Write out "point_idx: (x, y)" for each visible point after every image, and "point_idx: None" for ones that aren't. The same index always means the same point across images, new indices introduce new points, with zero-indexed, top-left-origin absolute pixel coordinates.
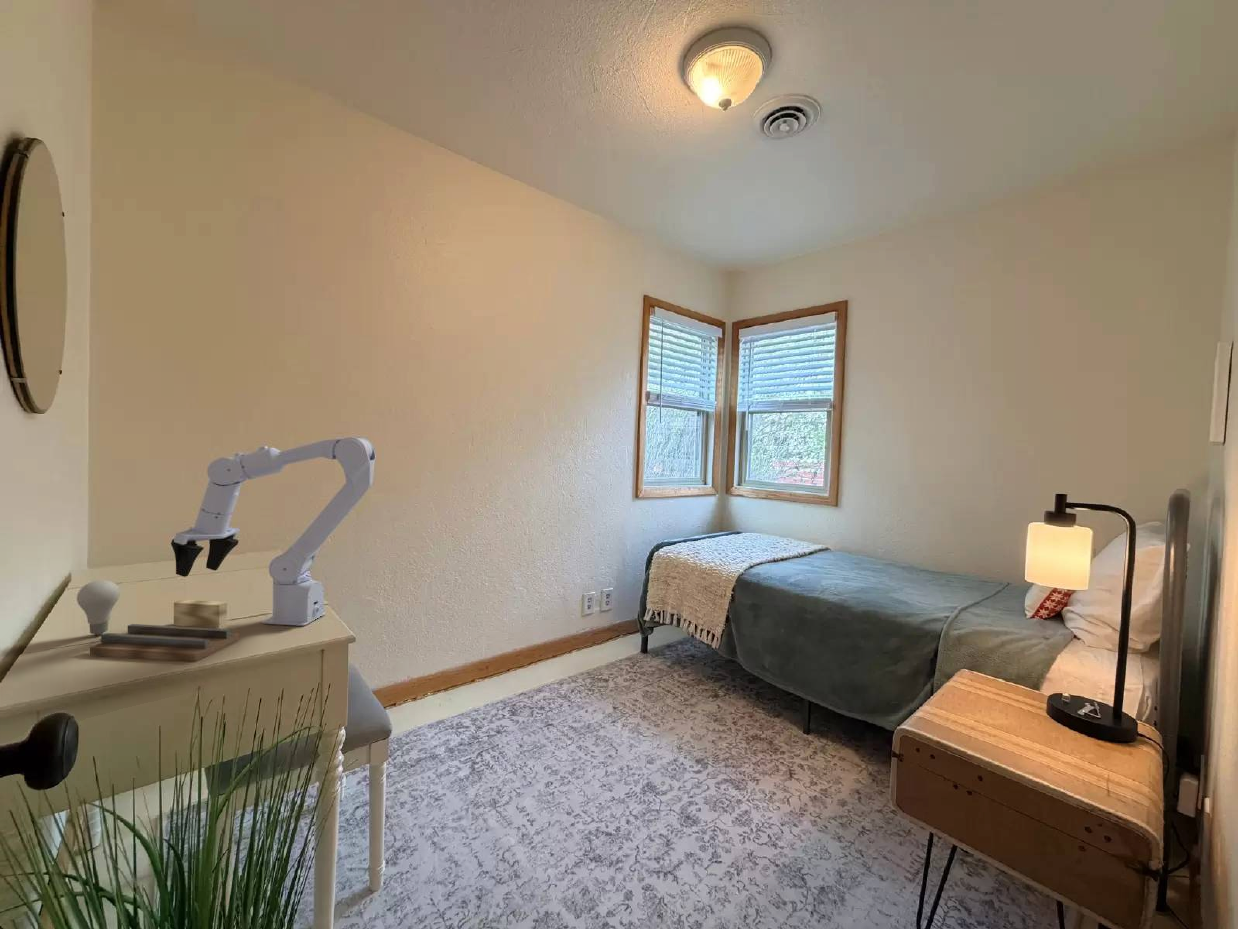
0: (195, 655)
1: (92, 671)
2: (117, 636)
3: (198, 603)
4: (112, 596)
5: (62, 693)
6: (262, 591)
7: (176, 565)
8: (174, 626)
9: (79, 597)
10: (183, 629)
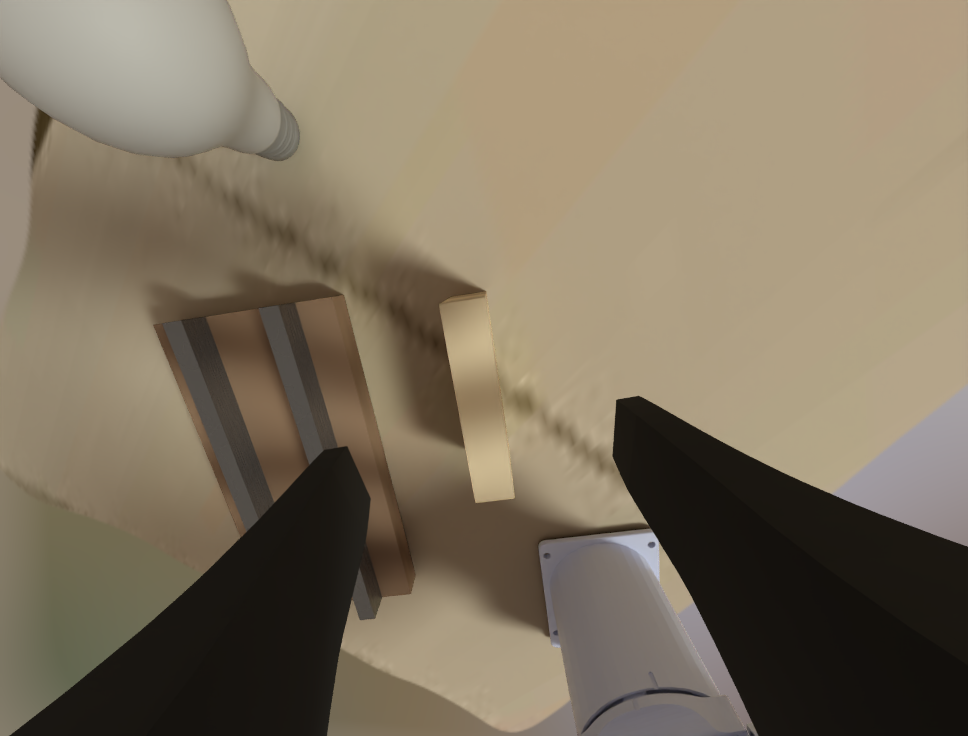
0: None
1: (137, 437)
2: (187, 383)
3: (465, 414)
4: (152, 151)
5: (56, 493)
6: (926, 232)
7: (279, 505)
8: None
9: None
10: None
